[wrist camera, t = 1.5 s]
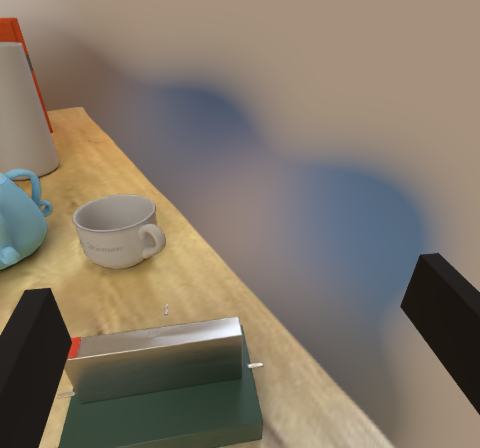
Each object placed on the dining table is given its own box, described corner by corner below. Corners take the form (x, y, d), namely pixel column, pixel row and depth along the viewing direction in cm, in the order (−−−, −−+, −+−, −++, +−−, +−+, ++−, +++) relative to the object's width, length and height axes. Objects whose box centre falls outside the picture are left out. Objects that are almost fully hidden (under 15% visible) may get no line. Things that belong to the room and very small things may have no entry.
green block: (245, 313, 41) (245, 294, 39) (287, 493, 26) (290, 476, 24) (88, 334, 38) (81, 315, 37) (34, 547, 23) (17, 532, 22)
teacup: (74, 255, 50) (58, 209, 46) (137, 226, 57) (128, 183, 52) (123, 303, 42) (109, 253, 38) (190, 262, 49) (185, 216, 44)
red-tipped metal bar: (238, 358, 32) (238, 314, 29) (242, 378, 31) (242, 333, 27) (85, 382, 30) (65, 337, 27) (80, 403, 29) (58, 359, 25)
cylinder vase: (47, 154, 84) (9, 40, 70) (69, 169, 76) (31, 45, 63) (-10, 170, 76) (-65, 45, 62) (8, 187, 69) (-50, 51, 55)
